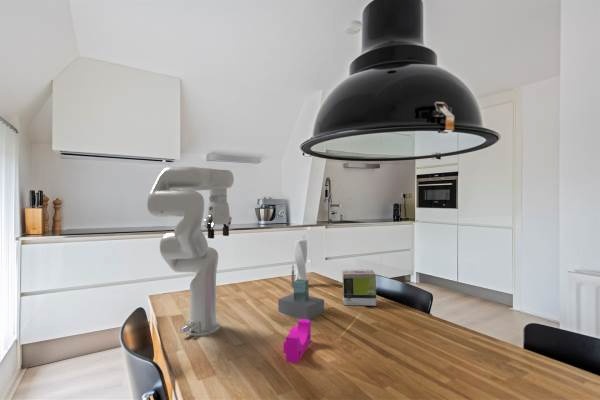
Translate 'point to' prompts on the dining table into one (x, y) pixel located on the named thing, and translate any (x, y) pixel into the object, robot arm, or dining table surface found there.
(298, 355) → the toy block
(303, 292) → the teal block
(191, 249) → the robot arm
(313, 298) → the plinth
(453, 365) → the dining table surface
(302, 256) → the skyscraper
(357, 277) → the tea box
